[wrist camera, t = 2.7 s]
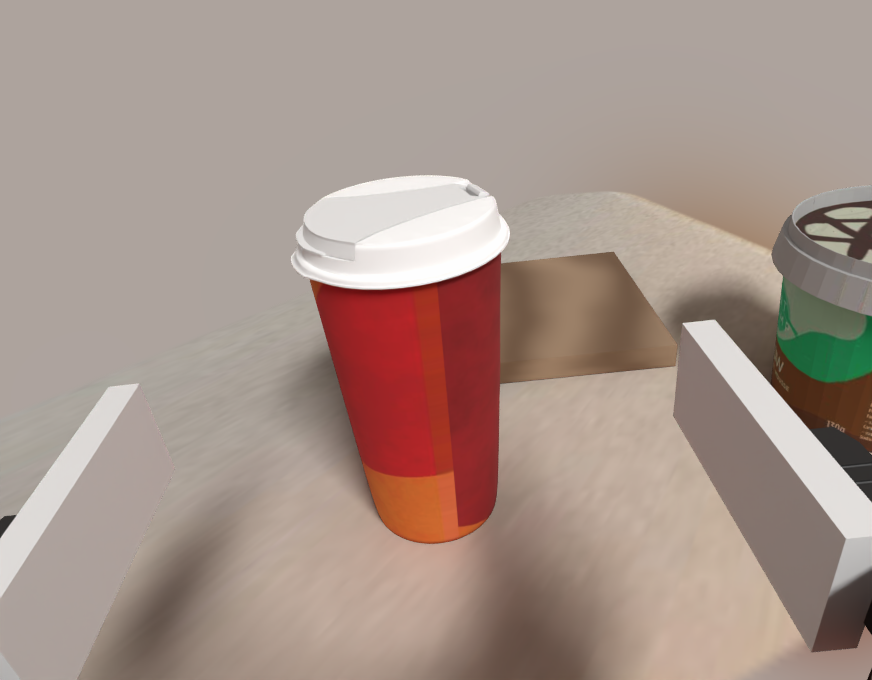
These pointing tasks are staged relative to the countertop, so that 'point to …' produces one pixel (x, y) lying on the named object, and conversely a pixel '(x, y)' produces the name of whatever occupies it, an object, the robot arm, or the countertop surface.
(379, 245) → the coffee cup
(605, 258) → the walnut board
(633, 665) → the countertop surface
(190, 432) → the countertop surface
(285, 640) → the countertop surface
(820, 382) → the food container
